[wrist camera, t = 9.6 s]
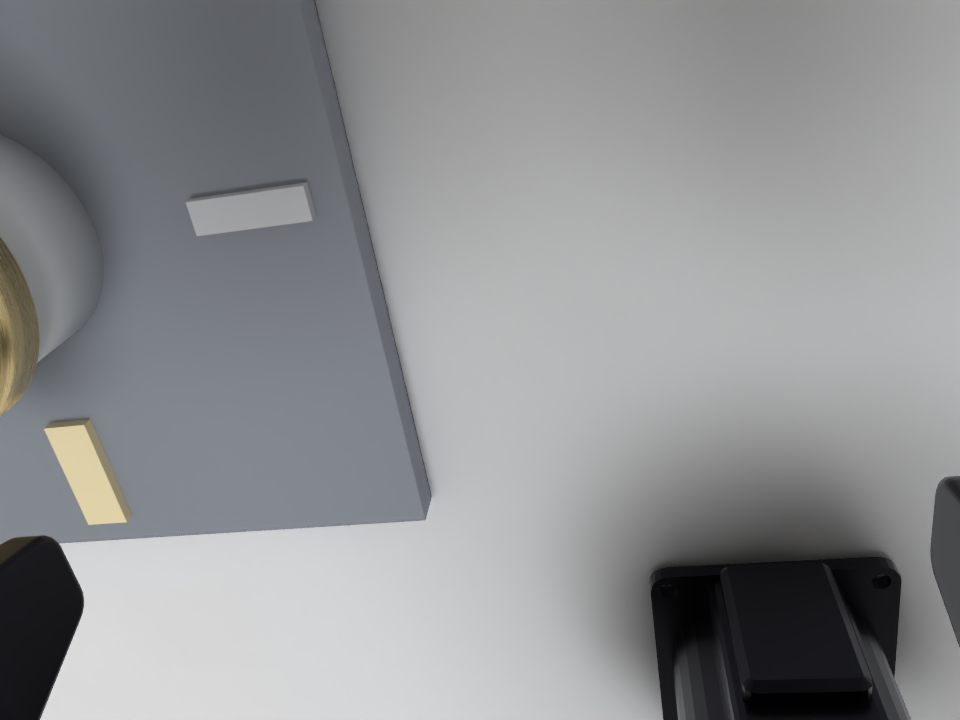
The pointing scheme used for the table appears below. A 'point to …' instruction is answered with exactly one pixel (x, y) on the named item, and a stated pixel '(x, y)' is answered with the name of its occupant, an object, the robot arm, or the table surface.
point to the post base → (192, 279)
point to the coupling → (15, 331)
